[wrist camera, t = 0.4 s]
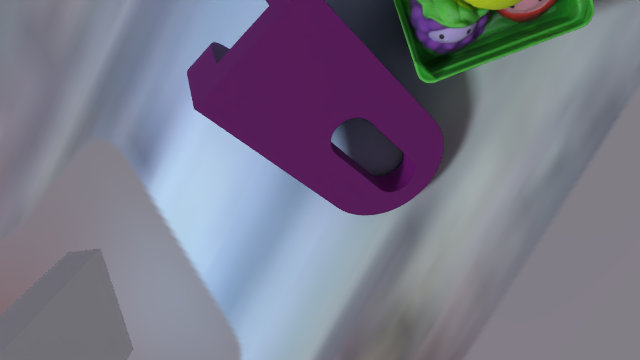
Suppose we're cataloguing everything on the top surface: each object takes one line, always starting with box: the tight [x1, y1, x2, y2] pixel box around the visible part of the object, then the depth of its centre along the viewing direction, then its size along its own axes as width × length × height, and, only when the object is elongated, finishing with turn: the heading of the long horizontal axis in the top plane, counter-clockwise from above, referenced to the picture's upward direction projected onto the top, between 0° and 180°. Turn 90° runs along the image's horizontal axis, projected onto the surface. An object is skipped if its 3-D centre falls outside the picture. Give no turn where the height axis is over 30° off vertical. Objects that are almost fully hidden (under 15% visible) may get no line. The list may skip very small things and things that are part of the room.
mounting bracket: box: [187, 0, 444, 215], centre depth 35 cm, size 10×8×18 cm
